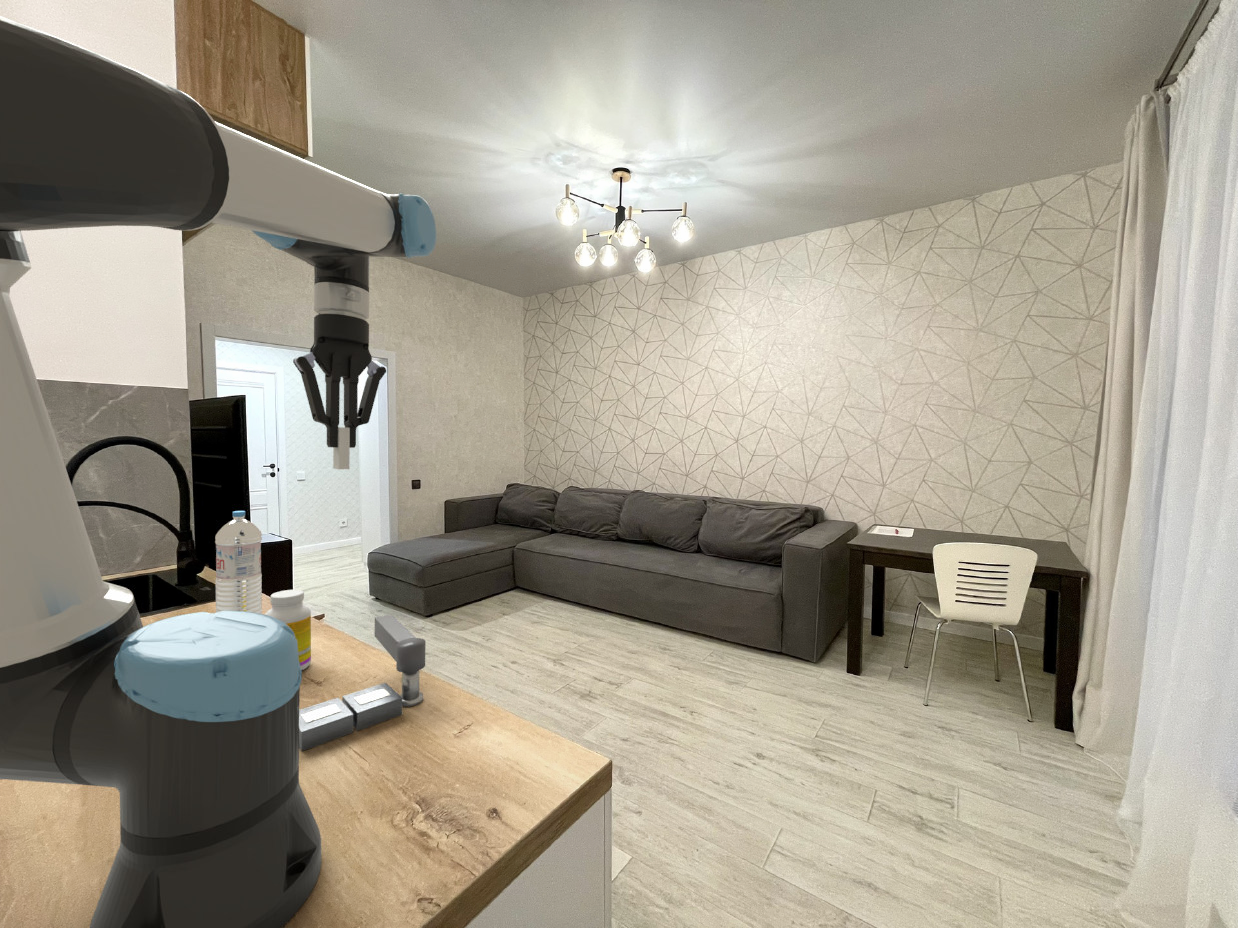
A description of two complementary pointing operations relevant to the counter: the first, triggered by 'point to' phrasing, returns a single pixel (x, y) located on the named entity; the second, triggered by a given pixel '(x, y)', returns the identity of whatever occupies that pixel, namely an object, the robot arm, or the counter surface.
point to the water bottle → (238, 566)
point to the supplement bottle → (294, 620)
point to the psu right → (373, 705)
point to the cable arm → (400, 644)
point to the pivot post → (411, 689)
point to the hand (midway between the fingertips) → (341, 468)
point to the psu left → (324, 723)
